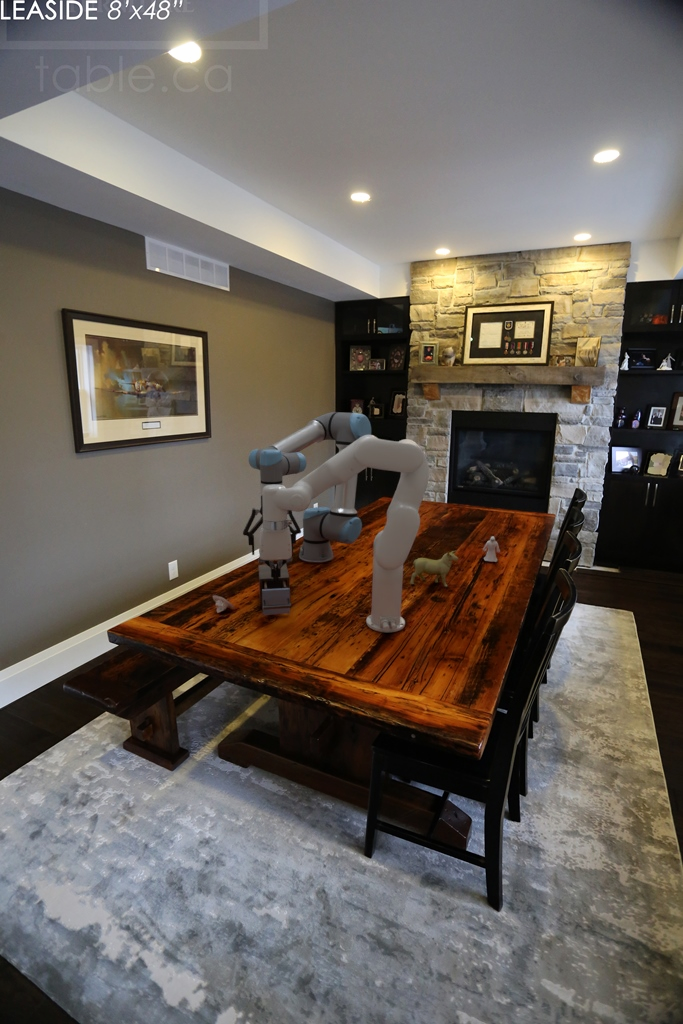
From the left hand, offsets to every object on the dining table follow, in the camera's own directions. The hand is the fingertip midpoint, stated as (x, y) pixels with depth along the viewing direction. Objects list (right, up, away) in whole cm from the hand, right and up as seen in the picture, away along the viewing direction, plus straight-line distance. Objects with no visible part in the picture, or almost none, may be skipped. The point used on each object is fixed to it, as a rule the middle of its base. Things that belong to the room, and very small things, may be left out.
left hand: (272, 553), depth 178 cm
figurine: (+92, -7, +47) cm, 103 cm away
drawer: (+2, -19, -9) cm, 21 cm away
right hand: (+3, -7, -18) cm, 19 cm away
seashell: (-16, -19, -8) cm, 26 cm away
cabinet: (0, -17, +2) cm, 17 cm away
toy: (+60, -14, +17) cm, 64 cm away
